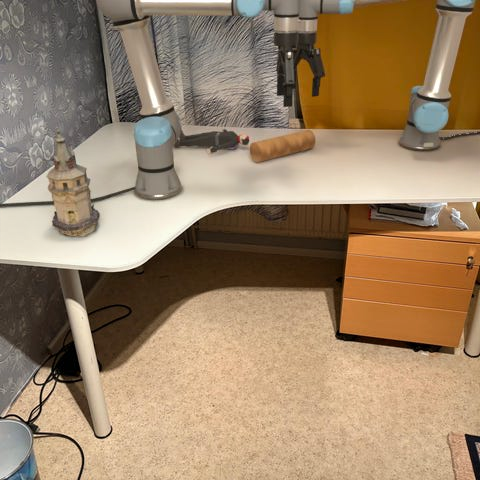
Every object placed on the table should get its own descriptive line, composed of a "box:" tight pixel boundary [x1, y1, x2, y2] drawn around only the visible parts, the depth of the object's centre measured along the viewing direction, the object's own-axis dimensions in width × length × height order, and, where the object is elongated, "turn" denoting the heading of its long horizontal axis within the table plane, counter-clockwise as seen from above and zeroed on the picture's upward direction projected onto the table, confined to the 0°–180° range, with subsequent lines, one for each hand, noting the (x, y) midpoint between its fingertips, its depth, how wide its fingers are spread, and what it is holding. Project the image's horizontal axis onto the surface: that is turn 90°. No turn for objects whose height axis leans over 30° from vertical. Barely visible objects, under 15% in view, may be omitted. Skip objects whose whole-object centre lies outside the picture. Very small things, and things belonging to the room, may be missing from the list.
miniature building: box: [46, 129, 101, 237], centre depth 148 cm, size 13×14×30 cm
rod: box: [249, 129, 317, 163], centre depth 204 cm, size 26×7×7 cm, turn 123°
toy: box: [173, 128, 250, 154], centre depth 214 cm, size 26×6×30 cm
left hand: (284, 100), depth 174 cm, fingers open, 13 cm apart
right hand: (303, 92), depth 199 cm, fingers open, 13 cm apart
